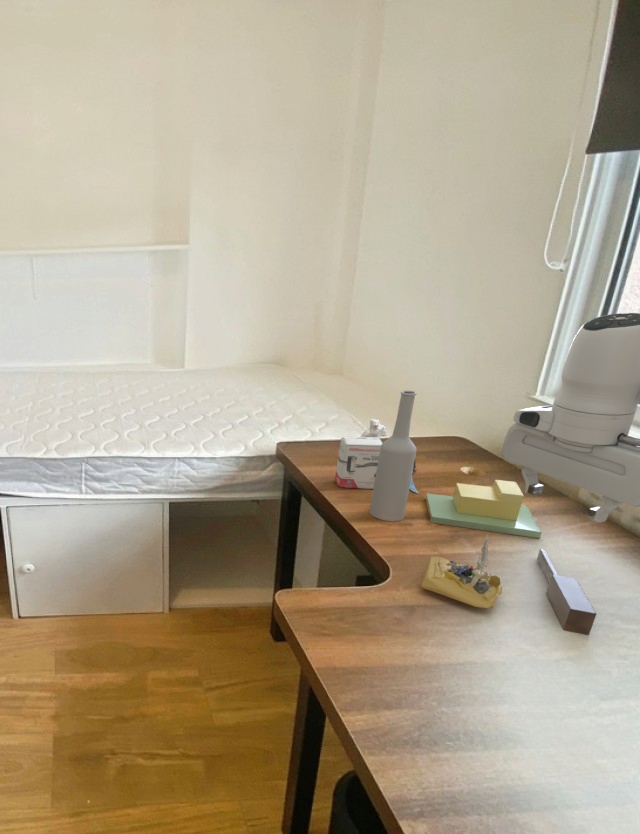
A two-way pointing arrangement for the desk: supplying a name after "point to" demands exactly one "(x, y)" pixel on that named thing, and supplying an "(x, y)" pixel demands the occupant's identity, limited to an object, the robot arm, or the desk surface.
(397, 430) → the bottle
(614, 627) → the desk surface
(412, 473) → the knife
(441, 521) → the butter dish
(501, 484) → the butter pat
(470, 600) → the toy boat
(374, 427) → the koala figurine
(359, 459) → the ink box
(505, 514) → the butter
